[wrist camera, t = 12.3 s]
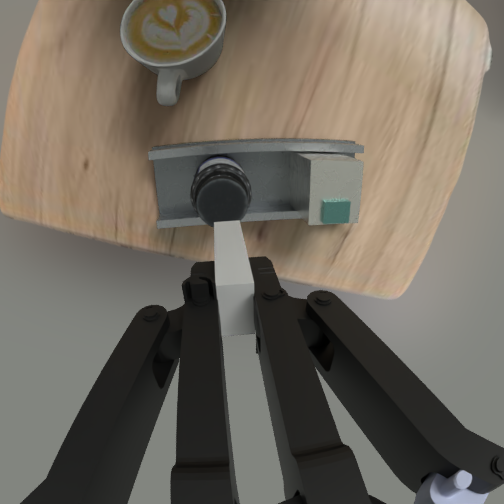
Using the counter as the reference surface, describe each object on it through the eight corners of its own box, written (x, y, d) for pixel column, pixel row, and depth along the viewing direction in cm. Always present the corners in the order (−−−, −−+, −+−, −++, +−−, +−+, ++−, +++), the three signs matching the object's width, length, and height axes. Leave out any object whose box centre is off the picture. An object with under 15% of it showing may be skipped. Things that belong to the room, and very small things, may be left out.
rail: (153, 146, 33) (134, 157, 24) (351, 140, 35) (390, 150, 27) (162, 220, 37) (148, 252, 29) (347, 209, 40) (380, 235, 31)
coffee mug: (159, 6, 24) (142, -25, 15) (233, 21, 27) (241, -10, 18) (124, 98, 29) (94, 94, 20) (199, 114, 32) (193, 112, 23)
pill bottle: (229, 210, 37) (235, 247, 27) (186, 189, 35) (176, 220, 25) (252, 168, 35) (269, 190, 25) (208, 146, 33) (207, 158, 23)
